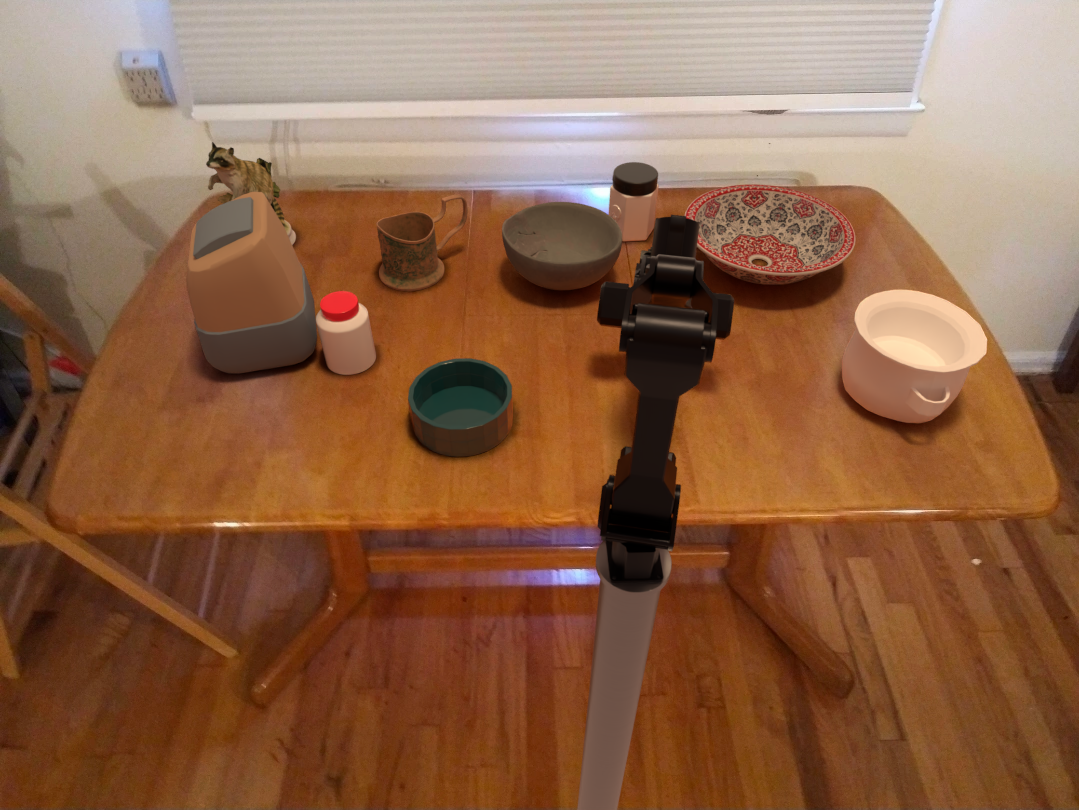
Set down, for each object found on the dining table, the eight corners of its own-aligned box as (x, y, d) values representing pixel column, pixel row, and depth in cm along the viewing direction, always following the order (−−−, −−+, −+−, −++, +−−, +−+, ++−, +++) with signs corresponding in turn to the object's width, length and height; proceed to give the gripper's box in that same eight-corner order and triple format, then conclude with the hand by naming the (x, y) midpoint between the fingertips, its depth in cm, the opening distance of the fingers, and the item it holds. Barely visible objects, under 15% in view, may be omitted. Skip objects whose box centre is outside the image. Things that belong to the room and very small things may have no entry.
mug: (485, 265, 140) (482, 206, 132) (397, 298, 133) (388, 238, 125) (453, 237, 147) (448, 178, 139) (368, 267, 140) (357, 207, 132)
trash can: (214, 320, 129) (167, 193, 113) (317, 305, 132) (286, 179, 116) (210, 387, 117) (157, 256, 101) (323, 368, 120) (289, 238, 104)
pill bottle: (335, 340, 125) (322, 284, 118) (382, 345, 124) (372, 288, 117) (319, 372, 120) (304, 315, 112) (368, 377, 119) (356, 320, 111)
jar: (598, 226, 150) (602, 168, 141) (631, 213, 153) (636, 156, 145) (629, 247, 145) (634, 189, 136) (662, 234, 148) (669, 175, 140)
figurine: (215, 251, 144) (180, 148, 130) (266, 217, 152) (239, 117, 138) (262, 268, 140) (231, 164, 126) (312, 233, 148) (288, 132, 134)
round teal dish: (513, 455, 108) (512, 428, 104) (408, 458, 107) (403, 430, 103) (512, 384, 118) (511, 357, 114) (417, 386, 117) (412, 359, 114)
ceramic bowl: (712, 207, 155) (718, 169, 150) (860, 247, 145) (873, 209, 139) (652, 281, 137) (657, 242, 131) (817, 333, 127) (829, 293, 121)
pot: (817, 343, 125) (837, 280, 116) (926, 345, 124) (955, 282, 116) (851, 443, 109) (878, 379, 101) (977, 447, 109) (1014, 382, 100)
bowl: (601, 322, 129) (605, 271, 122) (486, 298, 133) (483, 248, 126) (631, 257, 142) (636, 208, 135) (525, 237, 147) (525, 189, 140)
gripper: (745, 249, 102) (731, 272, 118) (604, 235, 105) (608, 259, 120) (735, 333, 102) (722, 345, 118) (593, 317, 105) (599, 331, 120)
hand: (662, 318), depth 119 cm, fingers closed on light bulb, 6 cm apart
